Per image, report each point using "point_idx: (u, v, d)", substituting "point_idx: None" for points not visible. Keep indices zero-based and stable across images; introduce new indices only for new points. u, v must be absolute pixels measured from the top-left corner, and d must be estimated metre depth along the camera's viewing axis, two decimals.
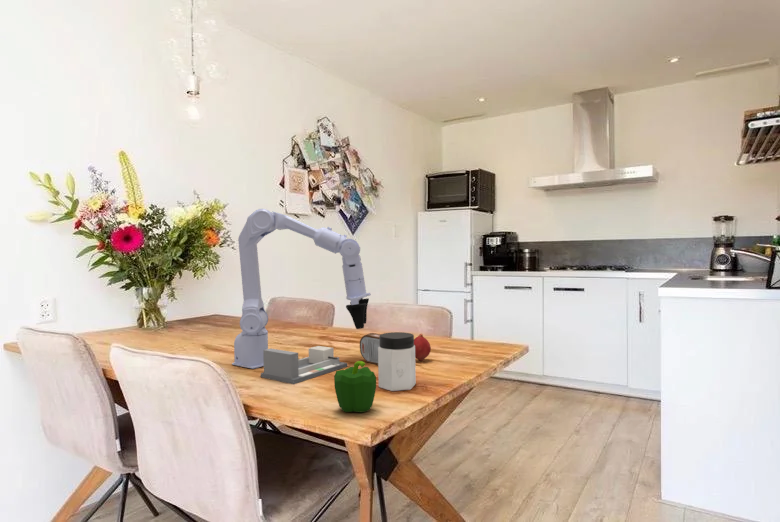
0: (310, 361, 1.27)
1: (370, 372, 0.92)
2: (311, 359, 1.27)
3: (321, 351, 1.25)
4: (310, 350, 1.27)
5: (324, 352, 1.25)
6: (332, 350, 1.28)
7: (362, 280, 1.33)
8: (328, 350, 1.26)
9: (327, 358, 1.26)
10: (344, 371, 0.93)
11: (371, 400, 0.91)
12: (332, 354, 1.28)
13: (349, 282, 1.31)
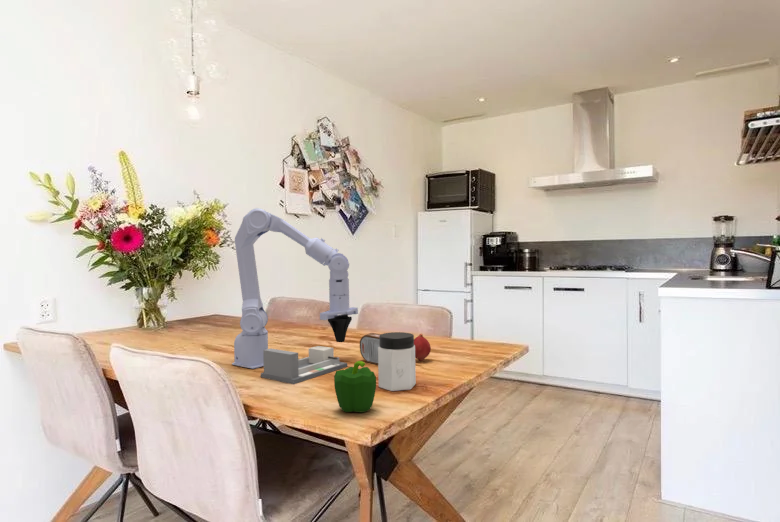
0: (310, 361, 1.27)
1: (370, 372, 0.92)
2: (311, 359, 1.27)
3: (321, 351, 1.25)
4: (310, 350, 1.27)
5: (324, 352, 1.25)
6: (332, 350, 1.28)
7: (342, 297, 1.32)
8: (328, 350, 1.26)
9: (327, 358, 1.26)
10: (344, 371, 0.92)
11: (371, 400, 0.91)
12: (332, 354, 1.28)
13: (330, 296, 1.33)
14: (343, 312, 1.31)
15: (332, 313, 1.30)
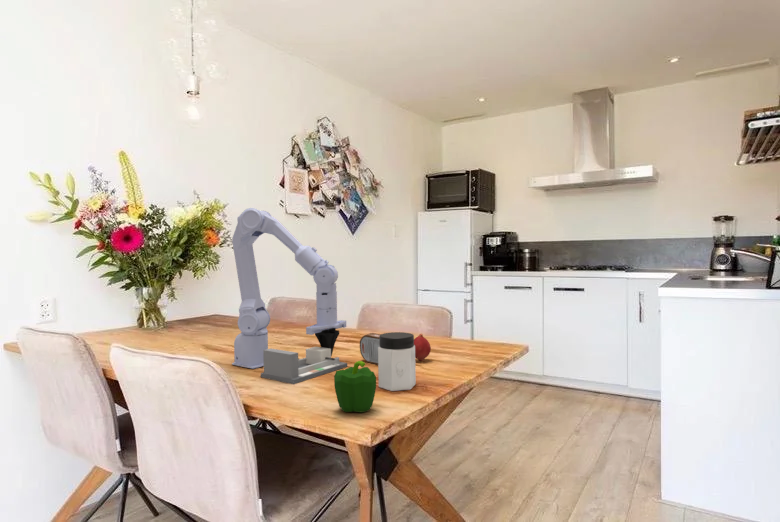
0: (307, 362, 1.27)
1: (370, 372, 0.92)
2: (308, 360, 1.27)
3: (318, 352, 1.24)
4: (307, 351, 1.27)
5: (321, 353, 1.24)
6: (329, 351, 1.27)
7: (330, 310, 1.27)
8: (325, 351, 1.25)
9: (324, 359, 1.25)
10: (344, 371, 0.93)
11: (371, 400, 0.91)
12: (329, 355, 1.27)
13: (317, 310, 1.28)
14: (330, 326, 1.27)
15: (319, 327, 1.25)
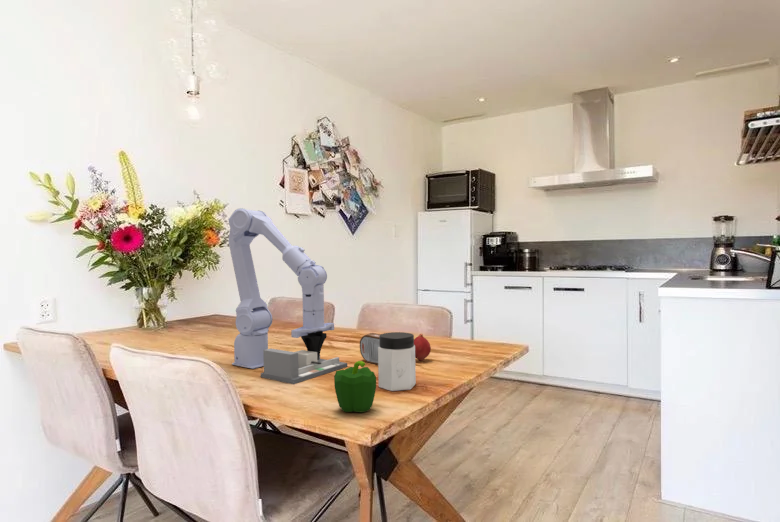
0: None
1: (370, 372, 0.92)
2: None
3: (304, 356, 1.20)
4: None
5: (307, 357, 1.20)
6: (316, 354, 1.22)
7: (316, 312, 1.23)
8: (311, 354, 1.21)
9: (310, 363, 1.21)
10: (344, 371, 0.93)
11: (371, 400, 0.91)
12: (316, 359, 1.22)
13: (303, 312, 1.24)
14: (317, 329, 1.23)
15: (305, 330, 1.21)
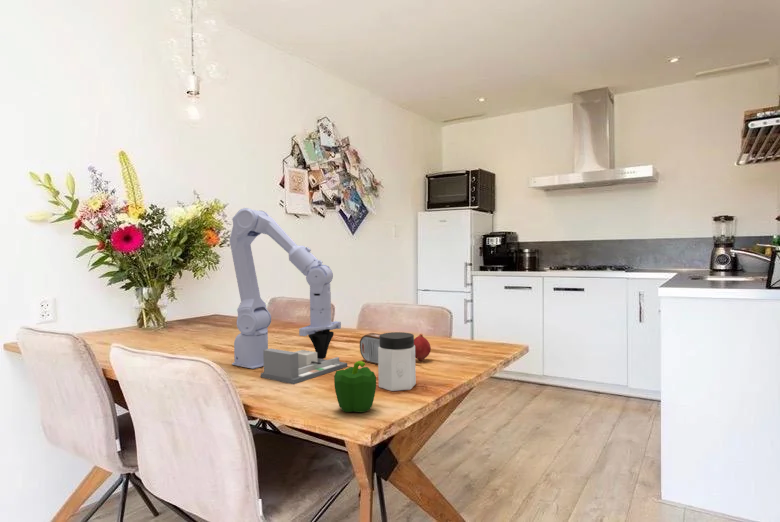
0: None
1: (370, 372, 0.92)
2: None
3: (304, 356, 1.20)
4: None
5: (307, 357, 1.20)
6: (316, 354, 1.22)
7: (323, 311, 1.25)
8: (311, 354, 1.21)
9: (310, 363, 1.21)
10: (344, 371, 0.93)
11: (371, 400, 0.91)
12: (316, 359, 1.22)
13: (310, 311, 1.26)
14: (324, 327, 1.25)
15: (312, 329, 1.23)
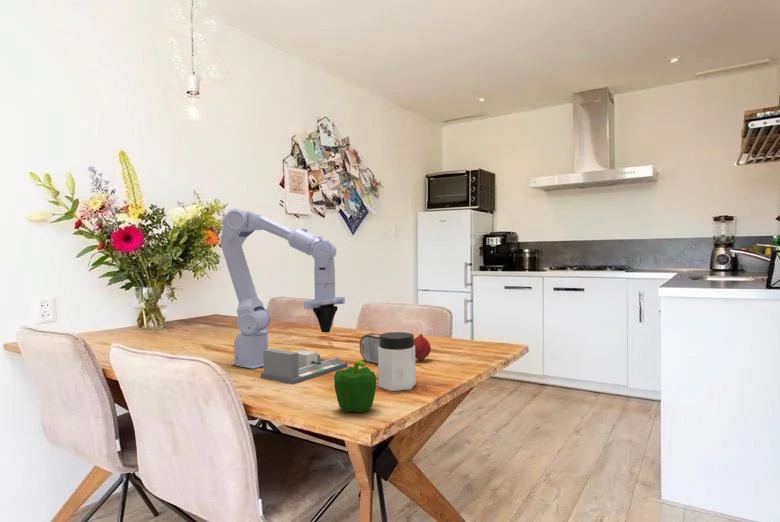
0: None
1: (370, 372, 0.92)
2: None
3: (304, 356, 1.20)
4: None
5: (307, 357, 1.20)
6: (316, 354, 1.22)
7: (328, 285, 1.27)
8: (311, 354, 1.21)
9: (310, 363, 1.21)
10: (344, 371, 0.93)
11: (371, 400, 0.91)
12: (316, 359, 1.22)
13: (315, 285, 1.28)
14: (328, 301, 1.26)
15: (317, 302, 1.25)
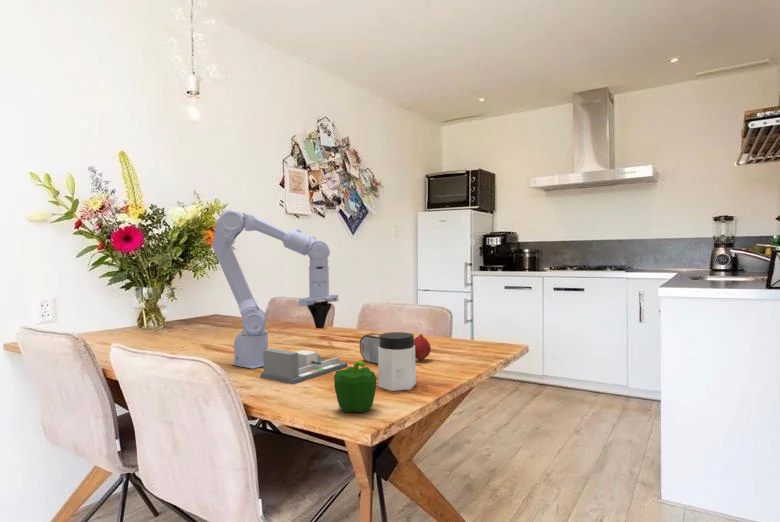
0: None
1: (370, 372, 0.92)
2: None
3: (304, 356, 1.20)
4: None
5: (307, 357, 1.20)
6: (316, 354, 1.22)
7: (322, 283, 1.33)
8: (311, 354, 1.21)
9: (310, 363, 1.21)
10: (344, 371, 0.93)
11: (371, 400, 0.91)
12: (316, 359, 1.22)
13: (309, 283, 1.34)
14: (322, 298, 1.33)
15: (311, 299, 1.31)
